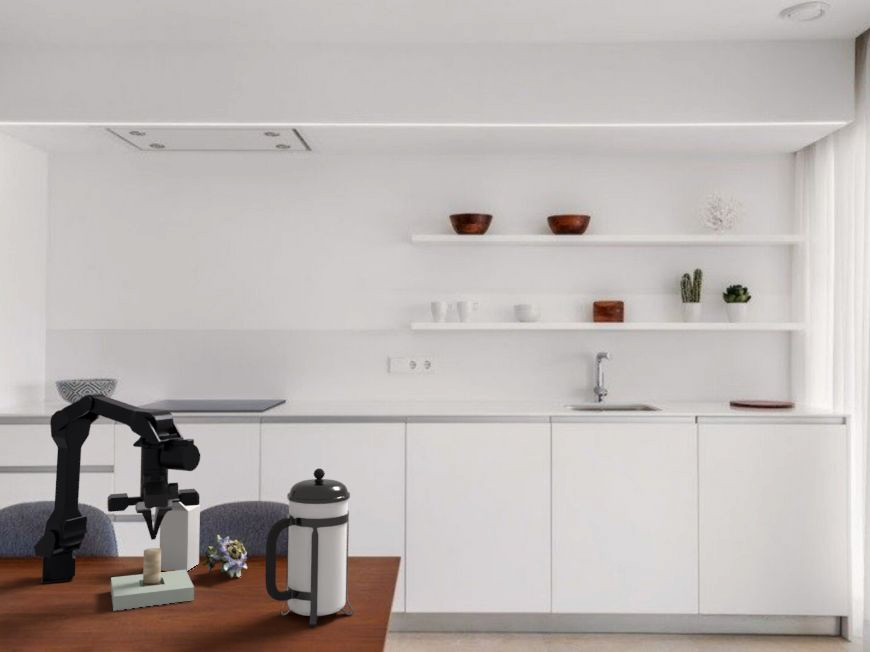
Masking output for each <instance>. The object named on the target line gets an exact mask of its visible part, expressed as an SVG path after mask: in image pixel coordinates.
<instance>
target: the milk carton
mask: <svg viewBox="0 0 870 652" xmlns="http://www.w3.org/2000/svg"><path fill="white" fill-rule="evenodd" d="M171 507H172V511H168V512H167V513H166V514H165V516H164V518H163V520H162V522H161V525H160V527H159V548H160V549H161V570H175V571H177V570H186V571H188V570H190V569H191V568H193V567H194V566H196V565H198V564H199V563H200V529H201V528H200V519H201V517H200V516H201V504H199V505H193V506H184V505H183V504H182V503H181V502H174V503H172V504H171ZM199 565H200V564H199ZM199 565H198V566H199ZM196 567H197V566H196ZM193 569H194V568H193ZM190 571H191V570H190Z"/></svg>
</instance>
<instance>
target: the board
mask: <svg viewBox="0 0 870 652" xmlns="http://www.w3.org/2000/svg"><path fill="white" fill-rule="evenodd" d="M110 594H111V595H110V596H112V597H111V603H112V609H113V612H117V610H118V611H125V610H124V609H127V610H133V609H132V608H135V609H140V608H139V607H143V608H147V607H146V606H151V607H154V606H153V605H159V606H163V605H162V604H167V605H170V604H169V603H175V602H183V601H191V600H195V586H194V584H193V582H192V580H191V578H190V576H189V572H187V571H186V570H177V571H167V572H161V583H160V585H153V586H144V587H143V573H141V574H132V575H131V574H130V575H123V576H122V575H121V576H114V577H110ZM191 602H192V601H191ZM183 603H184V602H183ZM175 604H176V603H175Z"/></svg>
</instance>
